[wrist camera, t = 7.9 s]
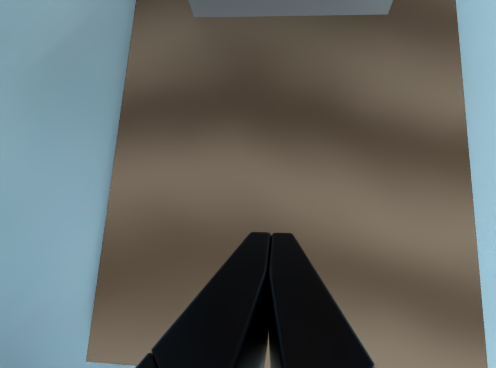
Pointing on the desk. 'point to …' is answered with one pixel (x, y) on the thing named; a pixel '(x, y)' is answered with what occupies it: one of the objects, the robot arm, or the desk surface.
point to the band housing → (287, 7)
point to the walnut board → (296, 174)
